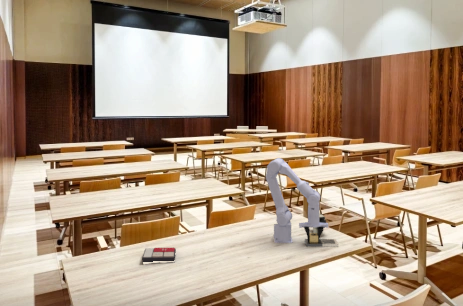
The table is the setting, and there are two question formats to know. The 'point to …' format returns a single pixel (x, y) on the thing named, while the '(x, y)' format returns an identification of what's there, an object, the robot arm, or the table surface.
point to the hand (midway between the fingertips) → (313, 240)
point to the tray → (323, 243)
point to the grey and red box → (159, 254)
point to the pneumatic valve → (321, 219)
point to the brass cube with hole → (313, 238)
